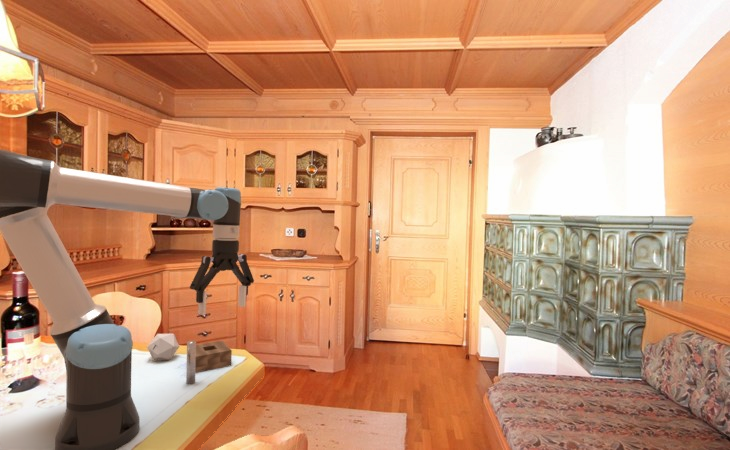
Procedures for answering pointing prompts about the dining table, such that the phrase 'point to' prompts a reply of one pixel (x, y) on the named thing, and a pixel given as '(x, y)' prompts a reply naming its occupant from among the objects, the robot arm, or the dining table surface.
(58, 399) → the dining table surface
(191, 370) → the pin
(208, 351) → the socket block
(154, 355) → the die
